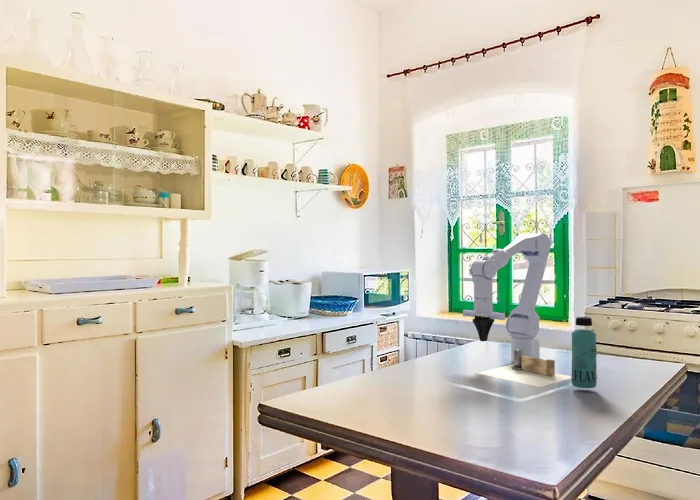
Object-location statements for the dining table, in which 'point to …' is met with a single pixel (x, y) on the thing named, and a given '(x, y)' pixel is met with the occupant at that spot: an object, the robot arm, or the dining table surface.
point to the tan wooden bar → (538, 365)
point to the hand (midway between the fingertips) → (483, 340)
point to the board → (524, 376)
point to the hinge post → (517, 359)
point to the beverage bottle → (584, 355)
